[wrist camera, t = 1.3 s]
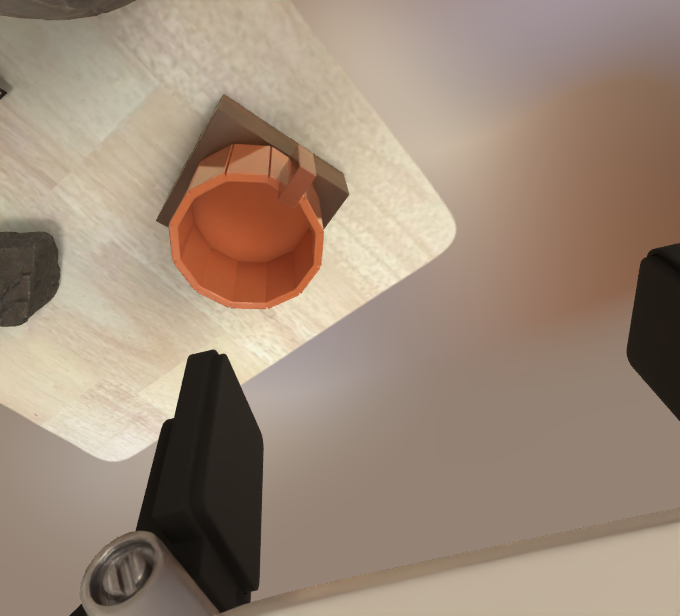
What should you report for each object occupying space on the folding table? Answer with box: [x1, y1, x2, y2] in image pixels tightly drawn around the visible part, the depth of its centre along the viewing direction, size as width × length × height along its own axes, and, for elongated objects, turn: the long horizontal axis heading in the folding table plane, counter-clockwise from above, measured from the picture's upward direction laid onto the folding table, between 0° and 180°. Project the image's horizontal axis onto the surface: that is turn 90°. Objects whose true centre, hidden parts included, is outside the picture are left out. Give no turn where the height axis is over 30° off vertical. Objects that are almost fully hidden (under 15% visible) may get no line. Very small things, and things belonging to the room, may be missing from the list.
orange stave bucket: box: [169, 144, 324, 309], centre depth 37 cm, size 11×13×10 cm
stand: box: [156, 95, 349, 230], centre depth 44 cm, size 12×11×5 cm
